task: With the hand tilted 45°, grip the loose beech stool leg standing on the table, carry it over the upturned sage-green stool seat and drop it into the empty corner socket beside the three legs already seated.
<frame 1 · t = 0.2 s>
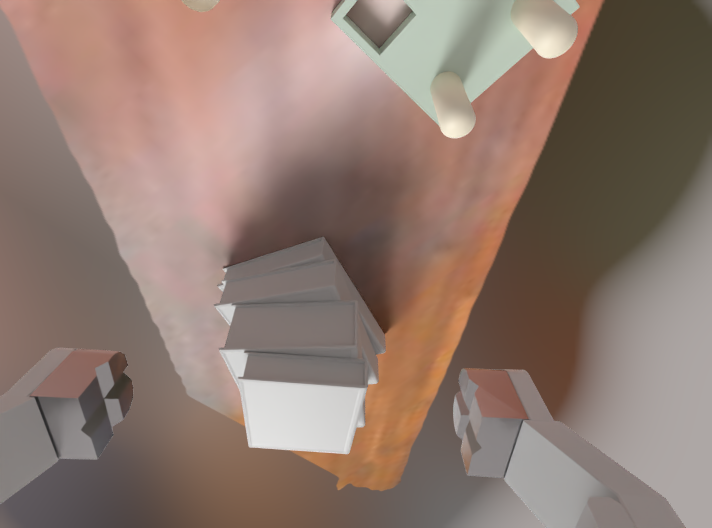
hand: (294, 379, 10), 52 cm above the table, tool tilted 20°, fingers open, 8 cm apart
stool seat: (450, 7, 50), on the table
book stack: (311, 302, 90), on the table
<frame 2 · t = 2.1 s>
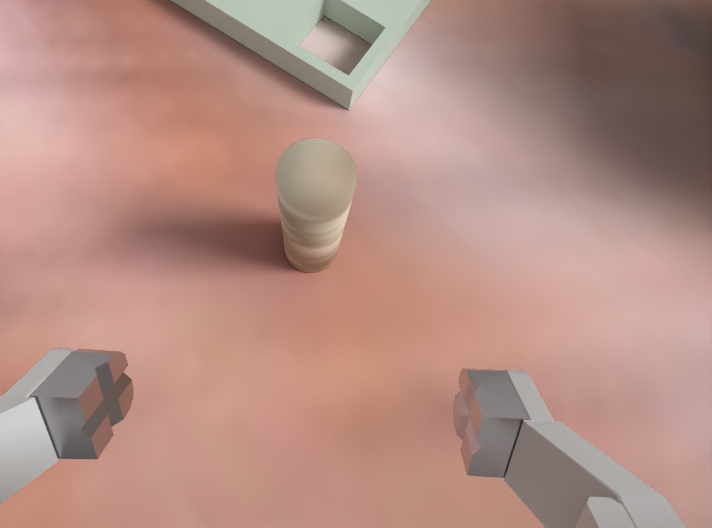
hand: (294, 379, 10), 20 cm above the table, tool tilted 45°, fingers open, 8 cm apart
loose leg: (311, 247, 32), on the table
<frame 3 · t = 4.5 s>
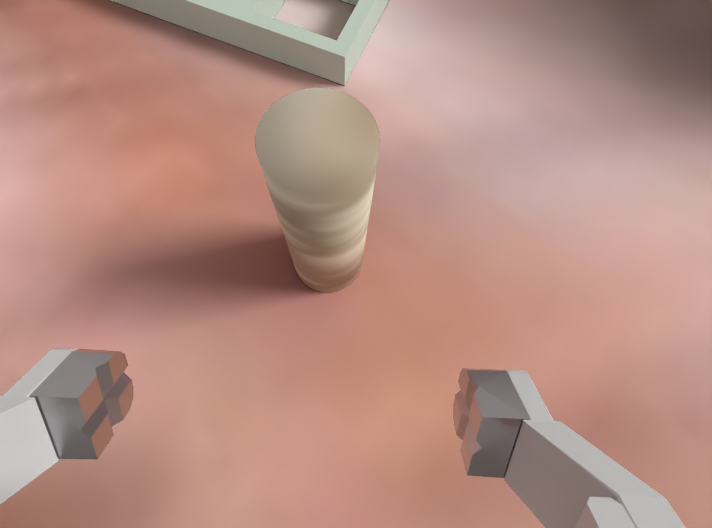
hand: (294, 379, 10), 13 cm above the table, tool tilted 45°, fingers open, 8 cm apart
loose leg: (328, 259, 25), on the table
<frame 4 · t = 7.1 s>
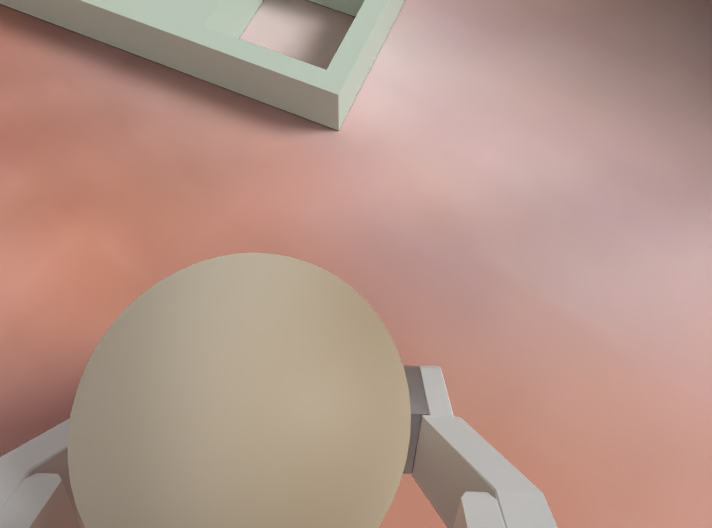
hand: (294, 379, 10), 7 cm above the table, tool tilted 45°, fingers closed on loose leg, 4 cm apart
loose leg: (311, 405, 16), on the table, touching gripper
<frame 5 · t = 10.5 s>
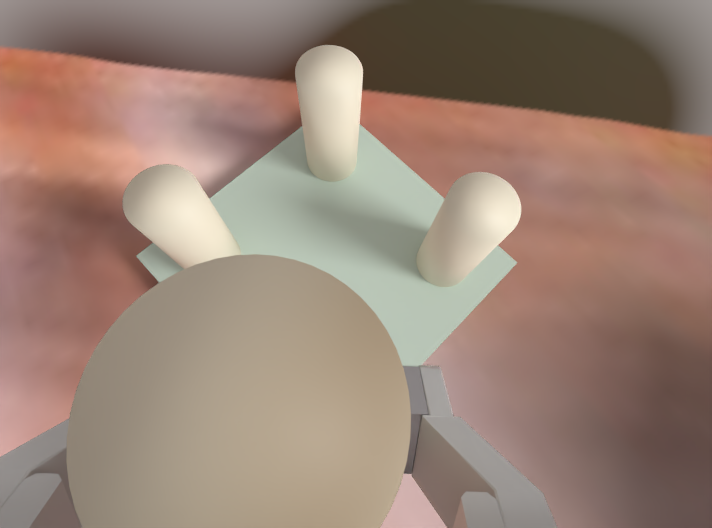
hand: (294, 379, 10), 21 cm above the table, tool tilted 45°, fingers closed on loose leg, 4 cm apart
loose leg: (310, 406, 16), point 15 cm above the table, touching gripper
stool seat: (330, 269, 34), on the table
when the fingers open (9 cm above the table, at t = 14.2 s): loose leg drops 2 cm, resting in stool seat.
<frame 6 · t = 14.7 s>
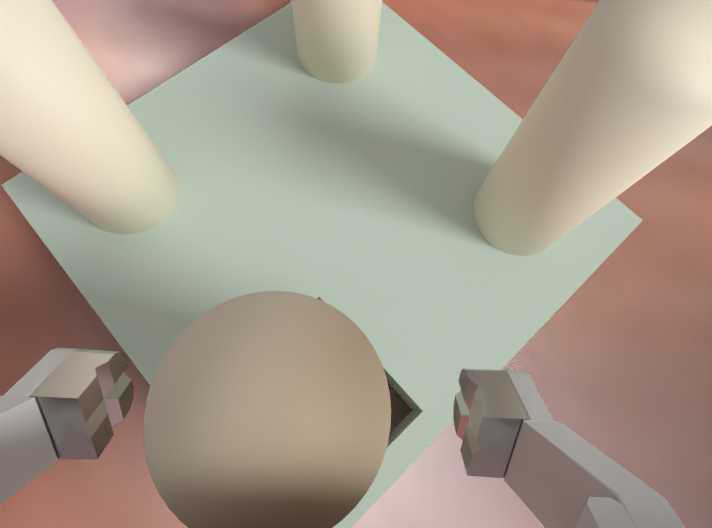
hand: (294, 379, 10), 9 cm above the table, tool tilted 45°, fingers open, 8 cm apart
loose leg: (314, 405, 18), resting in stool seat
stool seat: (327, 225, 21), on the table
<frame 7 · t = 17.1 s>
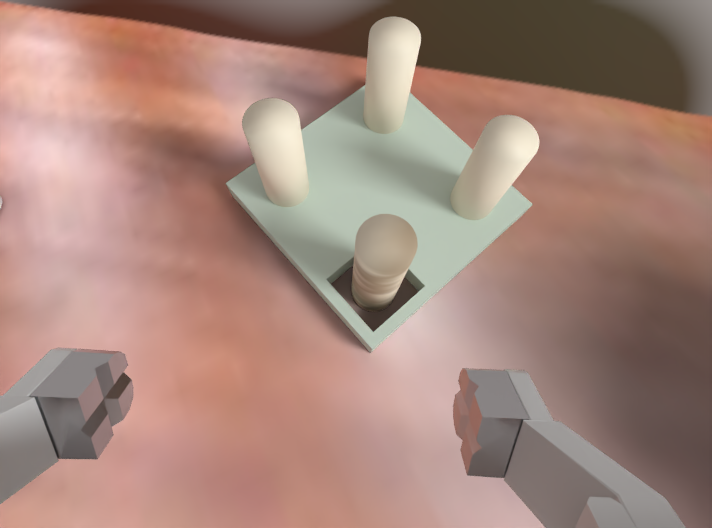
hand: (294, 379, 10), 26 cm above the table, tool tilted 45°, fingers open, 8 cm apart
loose leg: (373, 290, 38), resting in stool seat
stool seat: (377, 206, 41), on the table
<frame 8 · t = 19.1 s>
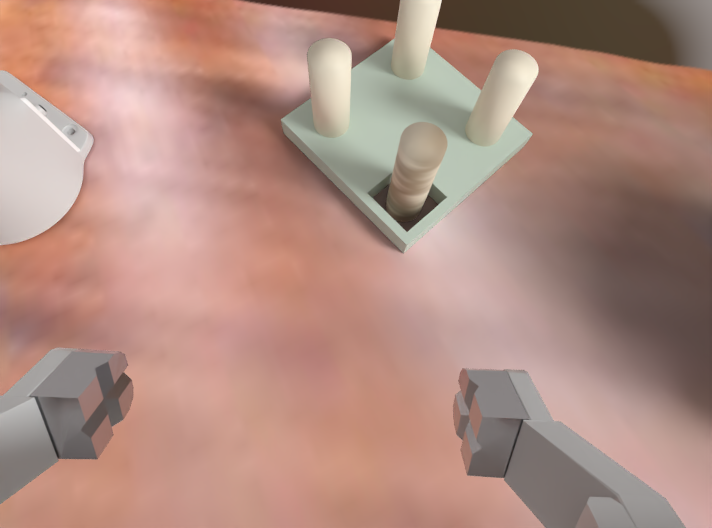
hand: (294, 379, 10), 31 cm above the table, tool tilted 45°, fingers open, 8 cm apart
loose leg: (403, 205, 47), resting in stool seat
stool seat: (404, 140, 49), on the table
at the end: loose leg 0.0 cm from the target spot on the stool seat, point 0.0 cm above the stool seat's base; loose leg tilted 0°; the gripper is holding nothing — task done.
